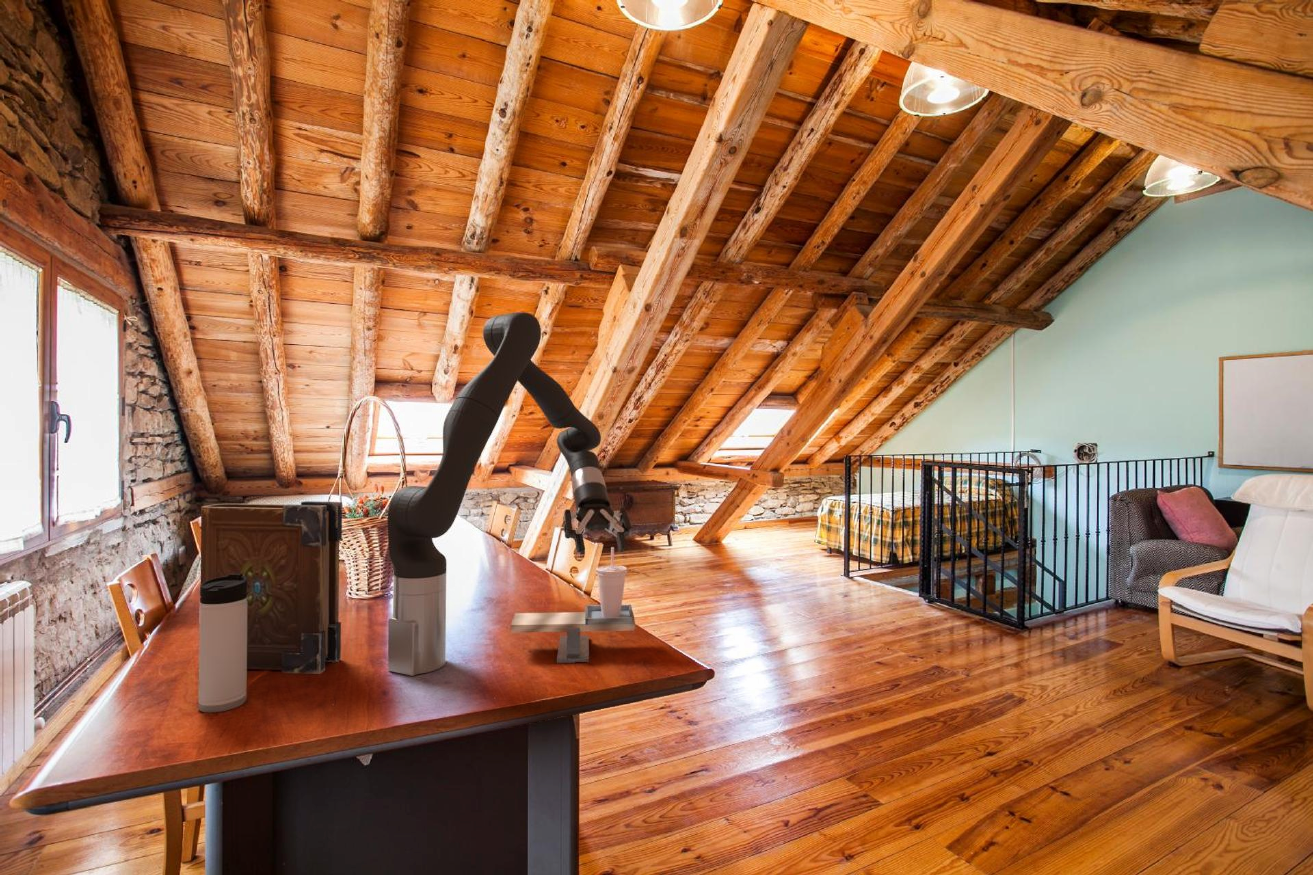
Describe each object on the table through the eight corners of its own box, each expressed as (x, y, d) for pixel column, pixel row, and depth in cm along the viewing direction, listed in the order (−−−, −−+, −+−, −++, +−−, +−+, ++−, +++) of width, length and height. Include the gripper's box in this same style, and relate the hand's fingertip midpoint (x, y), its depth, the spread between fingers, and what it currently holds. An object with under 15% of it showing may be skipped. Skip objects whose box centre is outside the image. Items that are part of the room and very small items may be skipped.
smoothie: (598, 621, 124) (599, 550, 124) (592, 612, 130) (593, 544, 130) (630, 619, 126) (631, 549, 126) (623, 610, 132) (624, 543, 132)
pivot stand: (556, 663, 120) (557, 631, 120) (559, 639, 134) (560, 610, 134) (588, 662, 121) (589, 630, 121) (588, 638, 135) (588, 610, 134)
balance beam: (510, 634, 121) (510, 619, 121) (515, 619, 131) (515, 606, 131) (635, 631, 124) (635, 617, 124) (631, 617, 133) (632, 604, 133)
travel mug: (256, 695, 104) (257, 573, 104) (230, 713, 97) (231, 582, 97) (217, 695, 104) (218, 573, 103) (188, 713, 97) (189, 582, 97)
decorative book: (340, 659, 120) (342, 501, 120) (319, 673, 113) (321, 506, 113) (220, 656, 121) (221, 499, 121) (191, 670, 114) (193, 503, 114)
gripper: (561, 481, 139) (572, 542, 128) (623, 480, 144) (639, 539, 133) (556, 502, 144) (566, 563, 133) (616, 501, 149) (631, 559, 138)
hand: (602, 551), depth 133 cm, fingers open, 8 cm apart
